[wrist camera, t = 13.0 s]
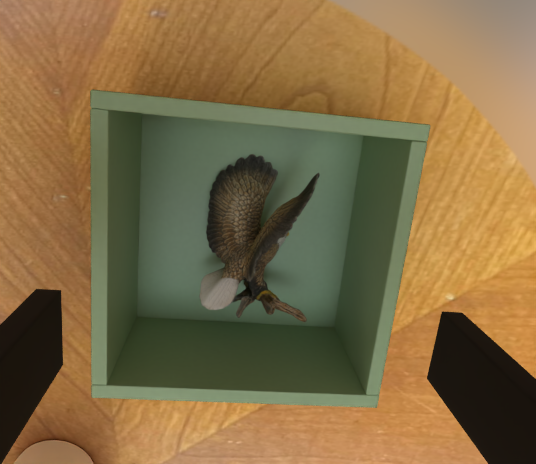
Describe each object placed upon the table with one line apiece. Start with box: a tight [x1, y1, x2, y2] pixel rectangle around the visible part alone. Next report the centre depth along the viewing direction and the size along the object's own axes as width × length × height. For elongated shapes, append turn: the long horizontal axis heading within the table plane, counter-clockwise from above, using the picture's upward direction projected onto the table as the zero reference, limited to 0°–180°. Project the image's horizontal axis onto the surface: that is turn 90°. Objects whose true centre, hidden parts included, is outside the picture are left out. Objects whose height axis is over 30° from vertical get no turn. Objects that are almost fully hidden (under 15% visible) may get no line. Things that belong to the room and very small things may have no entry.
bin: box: [90, 90, 430, 408], centre depth 27 cm, size 16×16×9 cm
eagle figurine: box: [199, 154, 320, 322], centre depth 27 cm, size 8×7×9 cm
